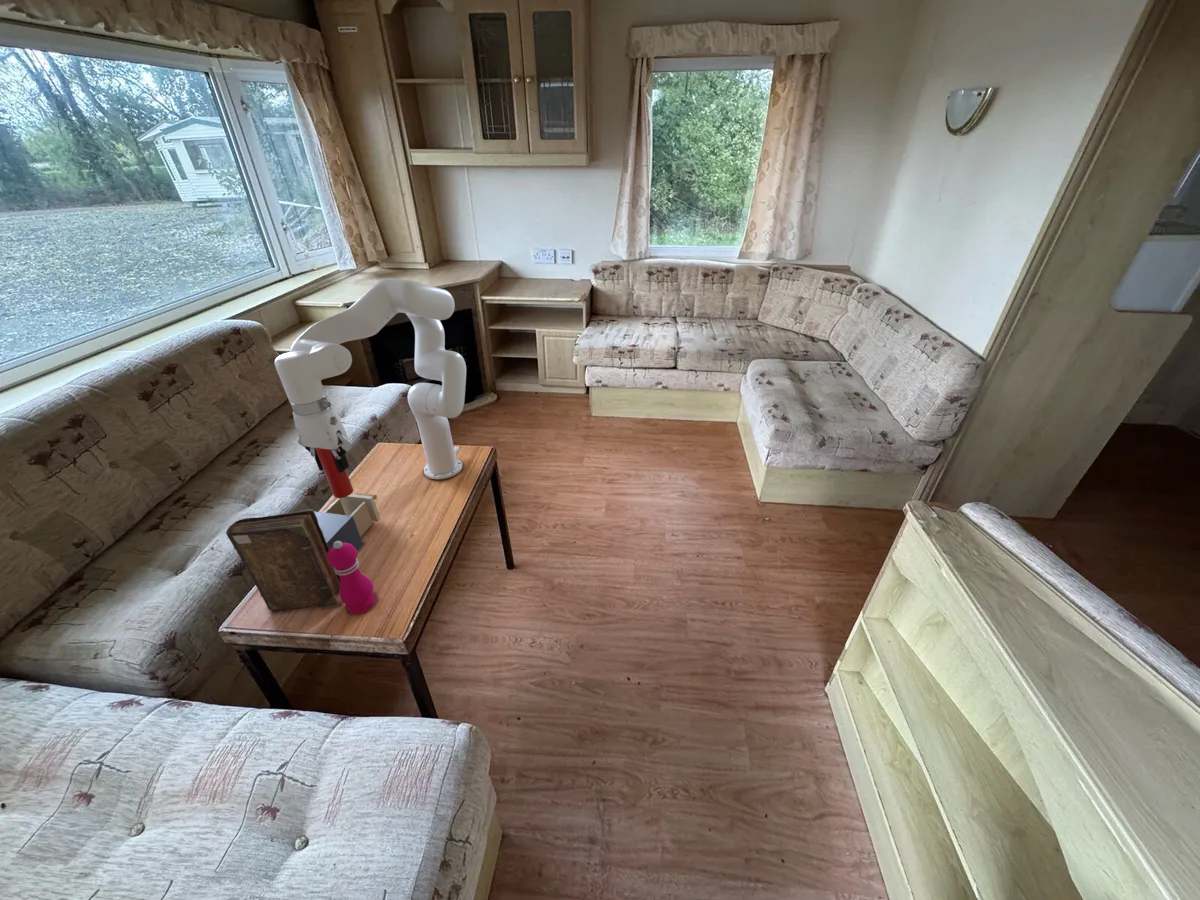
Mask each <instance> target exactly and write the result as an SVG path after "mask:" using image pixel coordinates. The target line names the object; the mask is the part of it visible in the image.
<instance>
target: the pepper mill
mask: <svg viewBox="0 0 1200 900" xmlns="http://www.w3.org/2000/svg"><path fill="white" fill-rule="evenodd" d="M327 561H328V563H329V565H330V566H332V567H333V568H334V570H335V573H336V574H338V575H339V576H340V582H341V583H340V589H338V594H339V595H338V596H339V598H340V601H341V602H342V603H343V604H344V605H345V606H346V609H347V611H348V612H349V613H351V614H353V615H354V614H355V615H358V614H359V615H360V614H363V613H366V612H367V611H369V610H370V609H372V608H373V606H374V605H375V603H376V600H377V599H376V595H375V593H374V584H373V582H372V580H371V578H369V577H368V576H366V575H365V574H363V573H362V572H361V570H360V568H359V565H360V562H359V559H358V551H357V550H356V548H355V547H354V546H353V545H352V544H350V543H342V542H341V541H336V542H334V544H333V547H332V548H331V549H330V550H329V552H328V554H327Z"/></svg>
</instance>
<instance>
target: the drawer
mask: <svg viewBox="0 0 1200 900" xmlns="http://www.w3.org/2000/svg"><path fill="white" fill-rule="evenodd" d="M377 499H378V495H377V494H373V493H372V494H371V493H361V492H357V493H356V494H353V493H352V494H350V495H349V496H347V497H344V498H336V499H335V500H334V501H333V502H332V503H331V504H330V505H329V506H328V507H327V508H325V509H324V511H323V512H324V513H332V514H340V515H348V516H353V519H354V521H355V524H356V526H357V529H358V532H359V534H360V537H362V536H363V535H364V534H365V533H366V532H367V531H368V530H369V529H370V527H371V526H372V525H373V524H374V522H379V521H380V520H381V517H380V514H379V511H378V508H377V505H376V502H375V500H377Z"/></svg>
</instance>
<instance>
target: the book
mask: <svg viewBox="0 0 1200 900" xmlns="http://www.w3.org/2000/svg"><path fill="white" fill-rule="evenodd" d="M314 511H315V510H314V509H312V508H311V509H302V510H298V511H292V512H286V513H281V514H274V515H267V516H259V517H254V516H253V517H247V518H241V519H238V520H236V521H235V522H233V523H232V524H231V525H229V527H228V528H227V529H226V531H225V534H226V537H227V538H228V540H229V541H230V543H231V544H232V546H233V549H234V551H236V553H237V554H238V556H239V558H240V561H241V562H242V564H243V565H244V567H245V569H246V570H247V573H248V574H249V576H250V577H251V580H252V581H253V584H254V586H255V587H256V588H257V591H258V592H259V593H260V597H261V598H262V599H263V601H264V604H265V605H266V607H267V610H269V611H272V612H281V611H282V612H283V611H284V612H285V611H288V610H298V609H306V608H326V607H335V606H338V605H339V601H338V600H337V598H336V595H335V594H336V592H337V591H338V590H339V589H340V583H341V582H340V576H339V575H338V574H336V573H335V570H334V568H333V567H332V566H330V565H329V563H328V561H327V554H328V552H329V550H330V549H329V547H328V545H327V543H326V540H325V538H324V535H323V532H322V530H321V528H320V526H319V523H318V520H317V517H316V515H315V512H316V511H315V512H314Z"/></svg>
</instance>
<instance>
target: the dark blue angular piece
mask: <svg viewBox="0 0 1200 900" xmlns="http://www.w3.org/2000/svg"><path fill="white" fill-rule="evenodd" d="M314 512H315V515H316V517H317V520H318V523H319V526H320V528H321V530H322V532H323V535H324V538H325V540H326V543H327V545H328V547H329V549H331V548H332V547H333V544H334V542H336V541H341V542H342V543H350V544H352V545H353V546H354V547H355V548H356V550H357V552H358V551H359V550H360V548H361V547H363V545H364V543H363V539H362V538H361V537H362V536H361V537H360V534H359V532H358V529H357V526H356V524H355V521H354V519H353V516H348V515H340V514H332V513H324V511H315V510H314Z"/></svg>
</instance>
